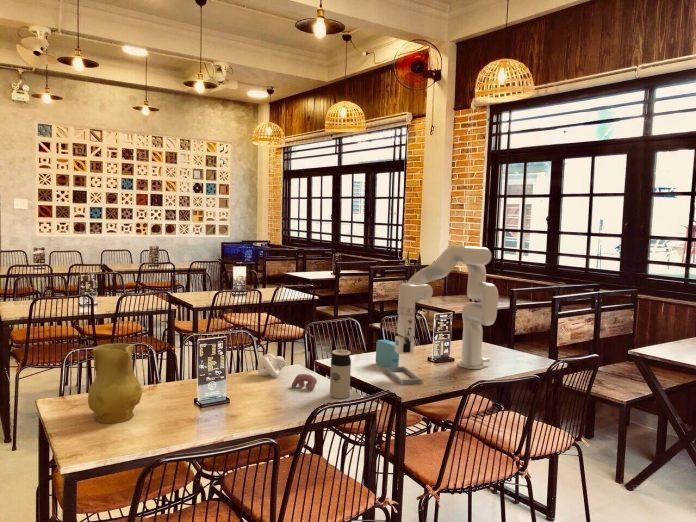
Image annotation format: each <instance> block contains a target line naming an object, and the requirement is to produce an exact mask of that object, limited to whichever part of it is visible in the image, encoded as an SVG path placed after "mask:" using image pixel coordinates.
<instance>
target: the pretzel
mask: <svg viewBox="0 0 696 522" xmlns="http://www.w3.org/2000/svg"><path fill="white" fill-rule="evenodd" d="M284 367H285V358H284V357H283V356H280V355H278V356H275V355H274V354H272V353H266V354H264V355H263V356H262V357H260V359H259V361H258V363H257V373H258V375H259V376H261V377H265V376H266V377H267V376H269V375H270V377H272V378H275V379H276V378H278V377H279V376H280V371H282V369H284Z"/></svg>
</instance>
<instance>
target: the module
mask: <svg viewBox="0 0 696 522" xmlns="http://www.w3.org/2000/svg"><path fill="white" fill-rule="evenodd" d="M406 337H409V335H406ZM407 339H408V338H406V340H407ZM394 342H395V352H397V353H398V354H399V355H407V354H408V355H411V354H413V355H414V349H415V345H414V344H415V337H413V339H412V341H411V346H410V352H407V353H404V352H403V345H404V344H405V343H404V337H403V336H398V335H396V336H395V338H394Z"/></svg>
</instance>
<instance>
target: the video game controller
mask: <svg viewBox="0 0 696 522" xmlns="http://www.w3.org/2000/svg"><path fill="white" fill-rule="evenodd" d="M305 382H306V383H305ZM317 383H318V380H317V378H316V377H314V376H313V375H311V374H308V373H299V374H297V375H296V376H295V377H294V379H293V381H292V383H291V389H295V388H296V387H297V386H298V387H300V388H302V389H303V388H304V387H305V388H306V389H308V391H309V392H311V393H312V392H313V391H314V389H315V387H316V385H317Z"/></svg>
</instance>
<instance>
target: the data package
mask: <svg viewBox="0 0 696 522" xmlns="http://www.w3.org/2000/svg"><path fill="white" fill-rule="evenodd" d="M399 360H400V354H398V353H397V352H395V341H391V340H388V339H378V340H377V341H376V345H375V363H376V364H377V365H379V366H381V367H399V362H400V361H399Z"/></svg>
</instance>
